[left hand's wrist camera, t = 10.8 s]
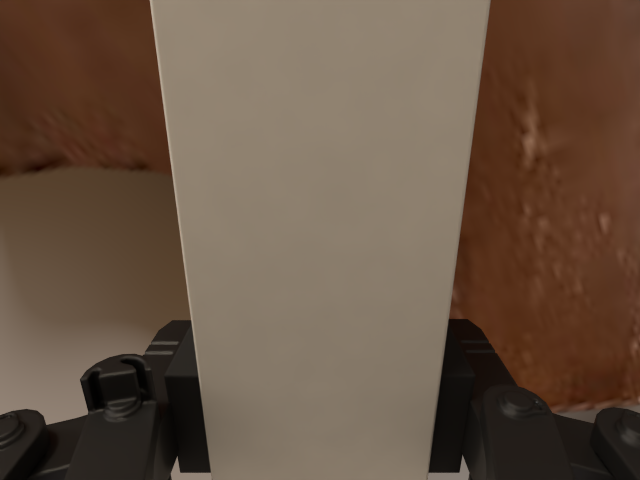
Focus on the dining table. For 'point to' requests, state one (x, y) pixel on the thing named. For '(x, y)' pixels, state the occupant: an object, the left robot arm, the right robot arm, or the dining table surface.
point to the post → (319, 221)
